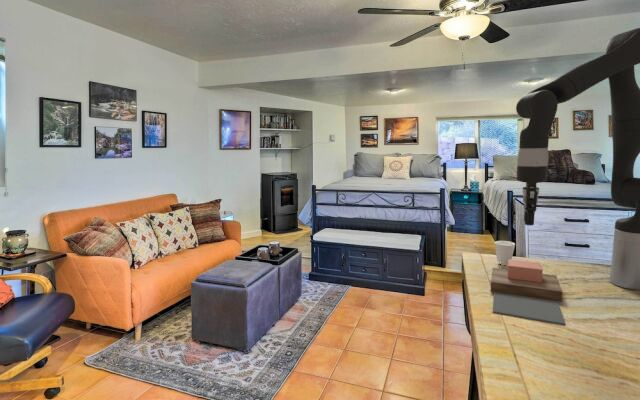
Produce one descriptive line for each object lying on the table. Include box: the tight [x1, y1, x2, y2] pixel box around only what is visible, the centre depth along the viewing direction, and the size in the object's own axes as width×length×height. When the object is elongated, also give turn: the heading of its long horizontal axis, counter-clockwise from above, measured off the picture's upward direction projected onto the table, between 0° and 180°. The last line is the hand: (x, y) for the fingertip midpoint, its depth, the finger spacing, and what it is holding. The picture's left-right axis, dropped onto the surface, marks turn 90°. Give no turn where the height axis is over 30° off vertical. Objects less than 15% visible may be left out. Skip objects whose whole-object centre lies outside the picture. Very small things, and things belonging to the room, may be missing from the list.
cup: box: [494, 240, 516, 267], centre depth 132 cm, size 7×10×8 cm
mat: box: [492, 292, 566, 326], centre depth 96 cm, size 14×16×1 cm
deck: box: [490, 267, 563, 303], centre depth 109 cm, size 14×18×3 cm
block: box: [507, 259, 544, 282], centre depth 110 cm, size 7×9×4 cm
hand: (528, 223), depth 102 cm, fingers open, 4 cm apart
